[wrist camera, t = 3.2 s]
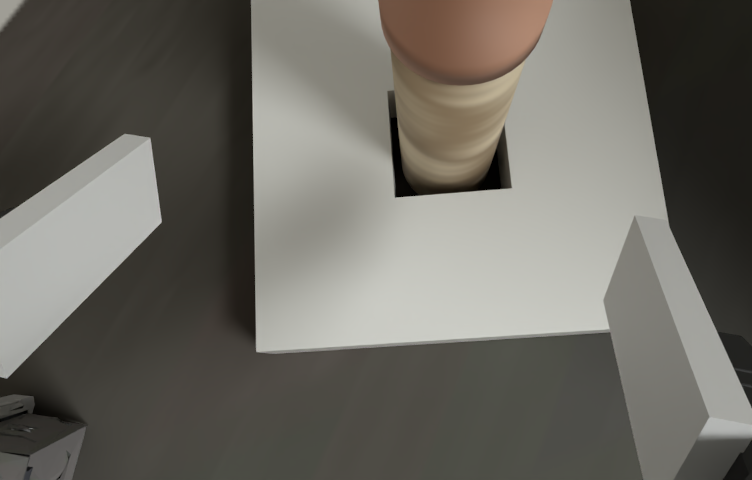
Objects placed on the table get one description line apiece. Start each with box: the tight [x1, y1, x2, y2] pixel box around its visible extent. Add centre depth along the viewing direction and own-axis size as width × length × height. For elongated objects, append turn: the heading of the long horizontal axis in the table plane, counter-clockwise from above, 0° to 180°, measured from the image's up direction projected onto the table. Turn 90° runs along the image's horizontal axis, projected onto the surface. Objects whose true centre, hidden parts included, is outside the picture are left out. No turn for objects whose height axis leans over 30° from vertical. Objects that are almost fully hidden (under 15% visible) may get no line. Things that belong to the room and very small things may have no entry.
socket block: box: [251, 0, 669, 354], centre depth 28 cm, size 18×18×3 cm
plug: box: [378, 0, 553, 196], centre depth 23 cm, size 5×5×14 cm
